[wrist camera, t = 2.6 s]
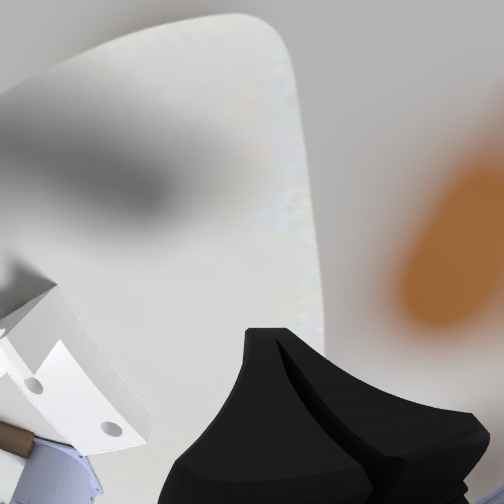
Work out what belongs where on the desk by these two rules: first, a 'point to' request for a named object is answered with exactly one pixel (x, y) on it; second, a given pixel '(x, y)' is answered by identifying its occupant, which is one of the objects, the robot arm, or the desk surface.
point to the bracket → (70, 377)
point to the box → (16, 440)
